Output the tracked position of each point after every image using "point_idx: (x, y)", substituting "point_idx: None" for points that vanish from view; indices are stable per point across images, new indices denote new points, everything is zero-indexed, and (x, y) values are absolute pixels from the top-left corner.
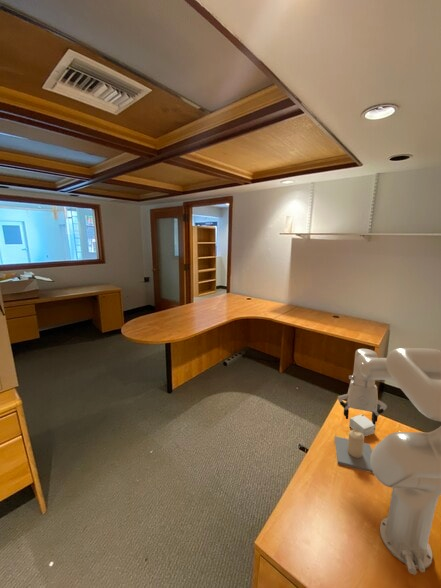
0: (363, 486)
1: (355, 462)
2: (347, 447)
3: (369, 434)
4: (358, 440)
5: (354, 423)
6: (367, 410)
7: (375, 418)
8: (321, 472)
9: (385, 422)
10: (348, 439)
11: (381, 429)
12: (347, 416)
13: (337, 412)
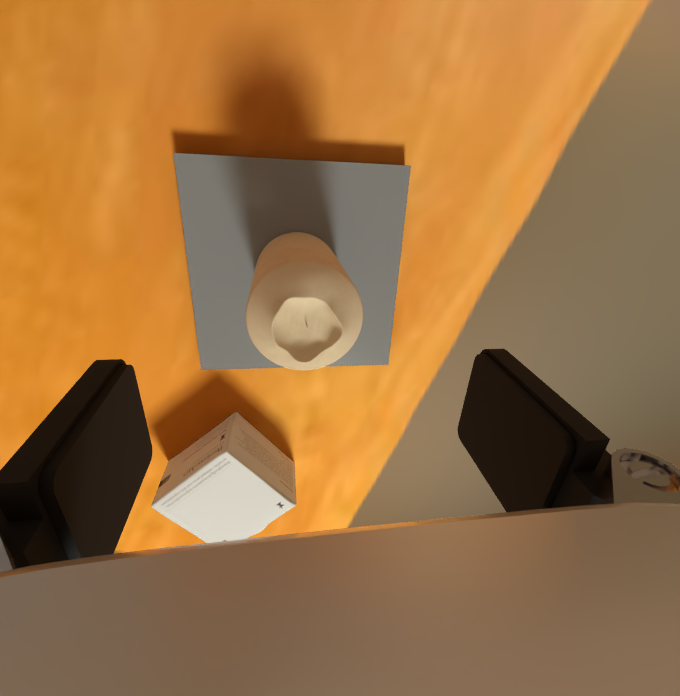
0: (278, 6)
1: (305, 189)
2: None
3: (195, 443)
4: (301, 259)
5: (274, 477)
6: (197, 565)
7: (43, 435)
8: (518, 55)
9: None
10: None
11: None
12: (514, 371)
13: None
